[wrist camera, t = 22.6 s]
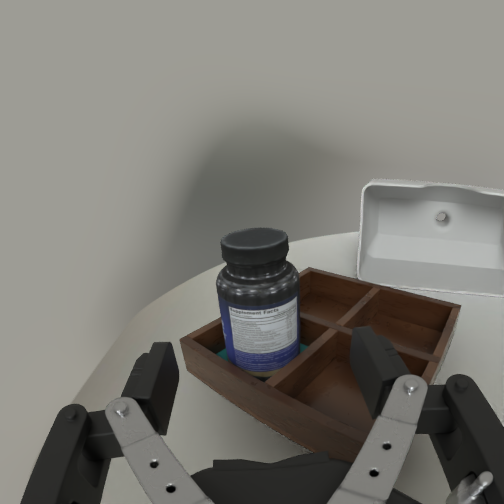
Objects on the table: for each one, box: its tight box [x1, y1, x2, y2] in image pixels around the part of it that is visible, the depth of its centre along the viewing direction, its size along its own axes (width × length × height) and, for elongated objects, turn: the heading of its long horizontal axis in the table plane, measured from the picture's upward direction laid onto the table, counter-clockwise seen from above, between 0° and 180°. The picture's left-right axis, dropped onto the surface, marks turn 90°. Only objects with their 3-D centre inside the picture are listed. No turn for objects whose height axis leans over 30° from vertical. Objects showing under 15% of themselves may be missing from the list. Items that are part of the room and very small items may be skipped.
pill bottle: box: [216, 228, 300, 382], centre depth 24 cm, size 6×6×11 cm
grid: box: [180, 267, 461, 463], centre depth 25 cm, size 18×18×4 cm
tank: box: [356, 179, 504, 297], centre depth 38 cm, size 25×16×12 cm, turn 63°
